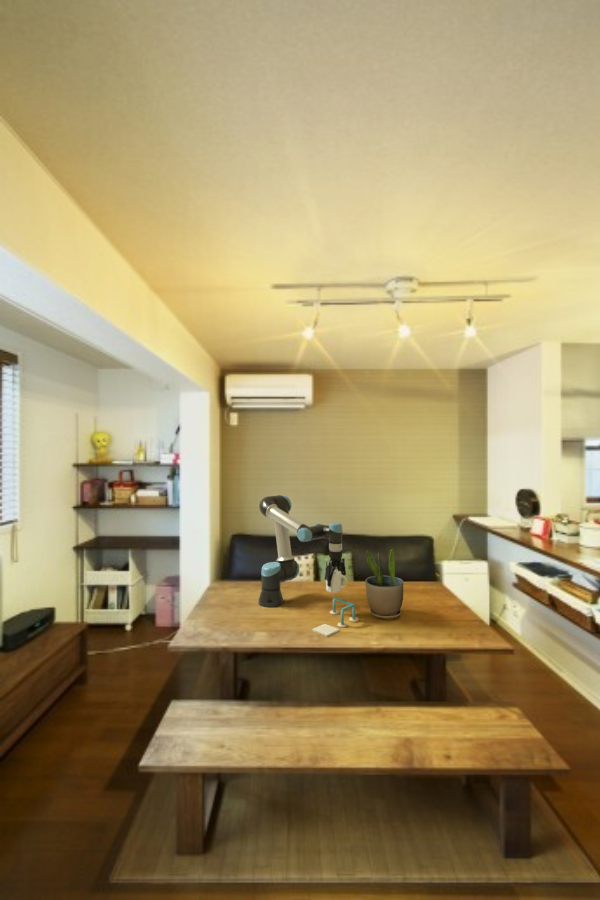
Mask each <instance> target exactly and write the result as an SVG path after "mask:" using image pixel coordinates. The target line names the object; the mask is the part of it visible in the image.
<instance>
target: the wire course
mask: <svg viewBox="0 0 600 900" xmlns="http://www.w3.org/2000/svg"><path fill="white" fill-rule="evenodd" d="M337 602H339V603H341V604H344V605H347V606H344V607H342V608H341V610H340V613H339V611H338V610H337V607H336V606H337V605H336V604H337ZM350 609H351V610H352V612H351V613H352V616H351V617H349V619H348V621H349V622H351V623H358V622H359V617H356V604H355V602H351V601H349V600H344V599H341V598H339V597H335V596H334V597H333V598H332V609H331V610H330V611H329V614H330V615H332V616H337V615H339V614H340V622H338V623H337V628H338V627H339V629H340V628H343V629H344V628H347V627H348V624H347V623H346V622H345V612H346V611H347V610H350Z"/></svg>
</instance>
